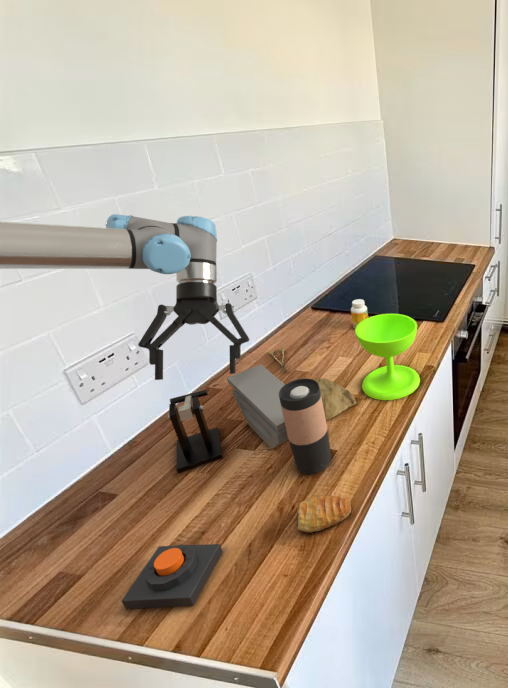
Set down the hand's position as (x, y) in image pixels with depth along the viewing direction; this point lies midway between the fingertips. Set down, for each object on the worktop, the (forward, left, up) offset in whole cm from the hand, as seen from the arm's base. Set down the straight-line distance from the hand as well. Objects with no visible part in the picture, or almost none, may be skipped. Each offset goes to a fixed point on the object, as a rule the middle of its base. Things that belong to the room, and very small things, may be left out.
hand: (196, 376), depth 97 cm
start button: (+13, -36, -11) cm, 40 cm away
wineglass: (+39, +18, -15) cm, 45 cm away
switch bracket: (+1, -7, -15) cm, 17 cm away
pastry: (+33, -25, -15) cm, 44 cm away
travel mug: (+27, -11, -15) cm, 33 cm away
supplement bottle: (+23, +51, -15) cm, 57 cm away
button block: (+13, -36, -15) cm, 41 cm away
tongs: (+5, +29, -15) cm, 33 cm away
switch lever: (-1, -3, -6) cm, 7 cm away
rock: (+27, +6, -15) cm, 31 cm away
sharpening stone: (+15, 0, -15) cm, 21 cm away
